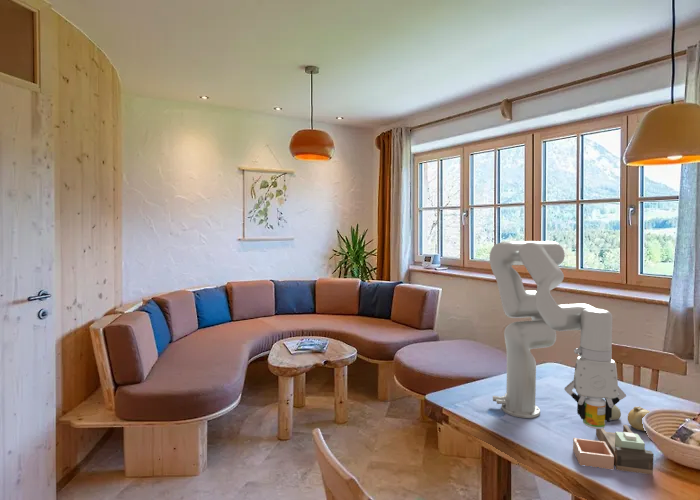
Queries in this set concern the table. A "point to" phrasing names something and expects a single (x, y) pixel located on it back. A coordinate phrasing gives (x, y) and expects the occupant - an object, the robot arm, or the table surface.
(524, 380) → the robot arm
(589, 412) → the supplement bottle
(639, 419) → the onion
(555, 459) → the table surface
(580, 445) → the holder
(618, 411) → the sea urchin shell
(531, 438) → the table surface
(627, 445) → the block
